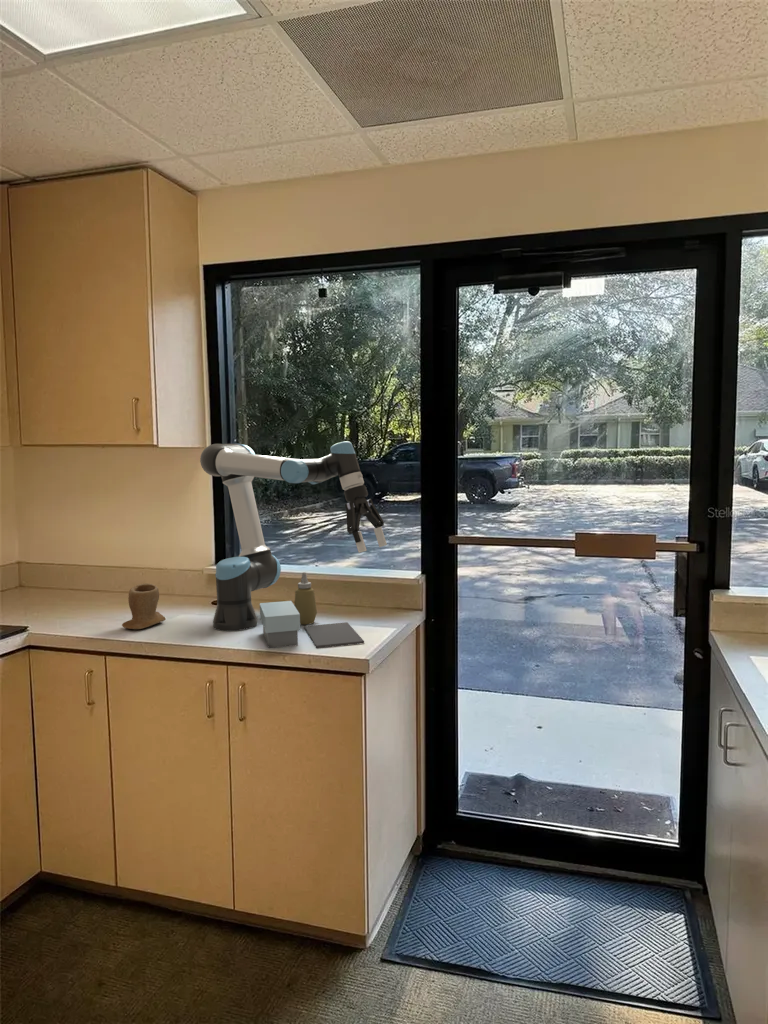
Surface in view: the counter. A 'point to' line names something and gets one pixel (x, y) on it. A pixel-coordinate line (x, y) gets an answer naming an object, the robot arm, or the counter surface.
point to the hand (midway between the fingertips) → (373, 549)
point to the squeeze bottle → (305, 601)
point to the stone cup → (143, 607)
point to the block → (279, 616)
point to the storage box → (281, 638)
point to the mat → (333, 635)
